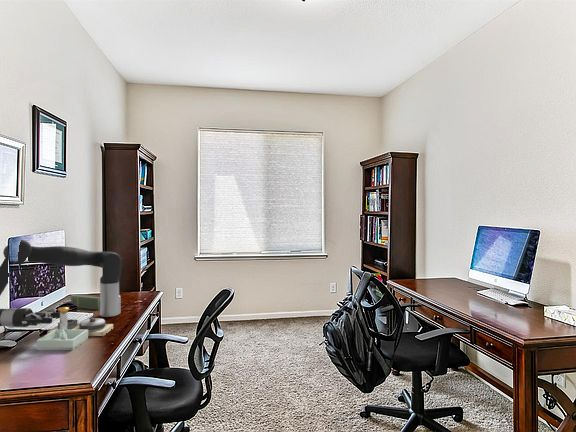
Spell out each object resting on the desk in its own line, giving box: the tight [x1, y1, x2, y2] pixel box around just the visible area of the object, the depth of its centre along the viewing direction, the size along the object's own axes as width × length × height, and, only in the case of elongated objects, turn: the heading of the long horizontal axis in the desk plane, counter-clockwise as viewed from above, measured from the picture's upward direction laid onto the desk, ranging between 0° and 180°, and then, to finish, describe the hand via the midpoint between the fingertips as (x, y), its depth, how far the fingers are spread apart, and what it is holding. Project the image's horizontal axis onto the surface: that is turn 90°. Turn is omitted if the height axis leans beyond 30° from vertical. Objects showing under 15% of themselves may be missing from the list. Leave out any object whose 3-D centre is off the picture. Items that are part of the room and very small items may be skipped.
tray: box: [36, 330, 89, 351], centre depth 169 cm, size 14×14×4 cm
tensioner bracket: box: [46, 317, 114, 337], centre depth 185 cm, size 24×12×6 cm, turn 93°
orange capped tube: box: [57, 306, 70, 340], centre depth 169 cm, size 4×4×14 cm
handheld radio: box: [70, 294, 100, 310], centre depth 228 cm, size 7×3×25 cm
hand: (57, 317), depth 168 cm, fingers open, 8 cm apart
